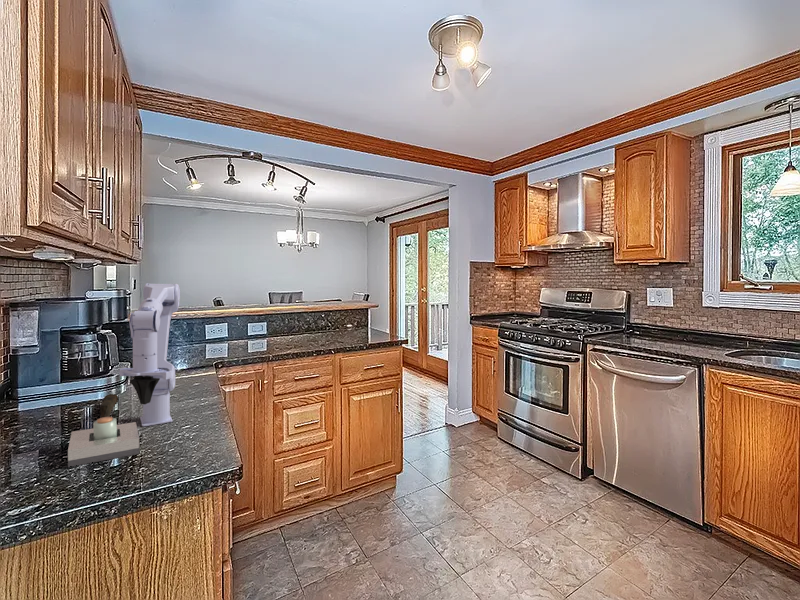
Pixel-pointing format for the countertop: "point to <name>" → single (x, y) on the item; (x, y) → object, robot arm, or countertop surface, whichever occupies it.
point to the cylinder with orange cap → (105, 428)
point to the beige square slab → (102, 445)
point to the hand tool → (108, 405)
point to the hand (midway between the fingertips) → (145, 403)
